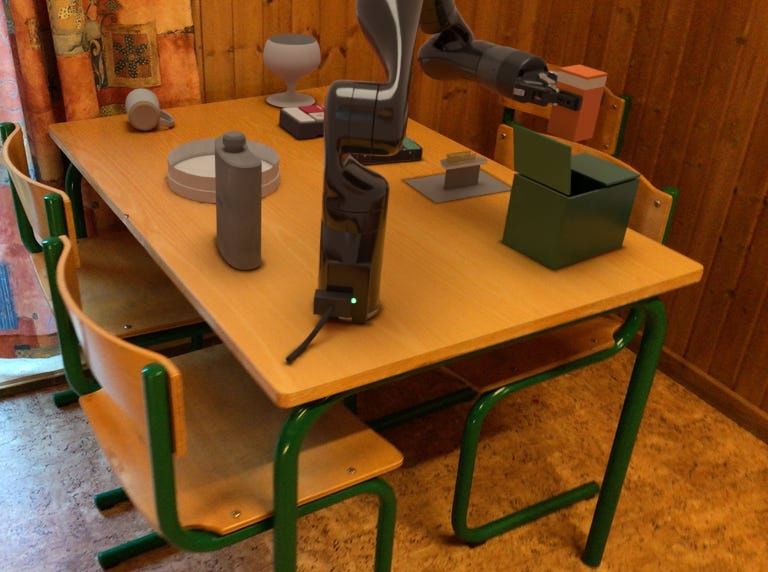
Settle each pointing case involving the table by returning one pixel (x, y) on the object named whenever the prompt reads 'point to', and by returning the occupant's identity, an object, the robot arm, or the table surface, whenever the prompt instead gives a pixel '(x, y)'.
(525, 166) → the green box lid flap
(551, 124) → the block
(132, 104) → the ceramic mug
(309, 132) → the dark box with panels
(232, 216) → the flask
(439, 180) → the platform
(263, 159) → the dish
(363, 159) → the disk drive
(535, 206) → the green flap box
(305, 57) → the chalice
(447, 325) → the table surface
